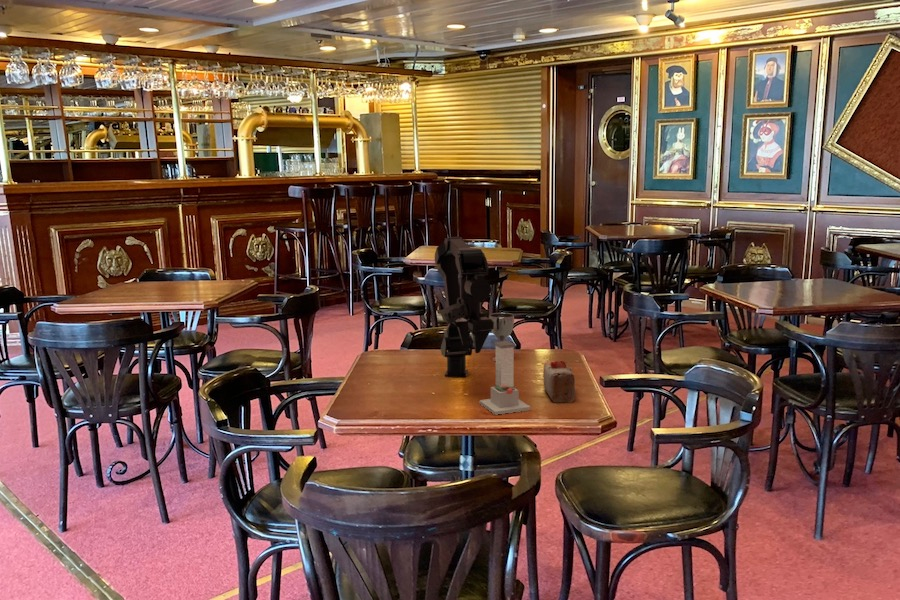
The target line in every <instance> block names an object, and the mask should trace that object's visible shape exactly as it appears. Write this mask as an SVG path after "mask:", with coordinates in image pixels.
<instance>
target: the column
mask: <svg viewBox="0 0 900 600" xmlns="http://www.w3.org/2000/svg"><path fill="white" fill-rule="evenodd" d="M494 346H495V357H496V362H495V384H494V387H496V389H497V390H499V391H500V392H505V391H507V390H508V389H509V388H513V390H514V388H515V386H514V375H515V373H514V366H515V365H514V364H515V363H514V358H515V357H514V355H515V354H514V351H515V346H516V345H515V343H513V342H511V341H510V340H505V341H503V342H499V341H495V342H494Z"/></svg>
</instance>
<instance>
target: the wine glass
mask: <svg viewBox="0 0 900 600" xmlns="http://www.w3.org/2000/svg"><path fill="white" fill-rule="evenodd" d="M489 318H490V319H491V320H492V321H493V322H494V329H492V331H491V333H492V334H493V336H494V337H495V338H496V339H497V340H498V342H503V341H507V339H508V337H509V336H510V335H511V334H512V332H513V330H514V324H515V315H514V314H513V313H511V312H510V313H509V312H494V313H490V314H489ZM492 358H493V360H495V361H496V356H495V358H494V357H492Z"/></svg>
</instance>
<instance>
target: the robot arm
mask: <svg viewBox="0 0 900 600" xmlns="http://www.w3.org/2000/svg"><path fill="white" fill-rule="evenodd" d="M463 239H464V238H463V237H460V236H448V237H445V238H444V241H443V242H442V243H441V244H440V245H438V246H437V247H436V249H435V253H434V263H435V265H436V269H437V272H438V273H439V275H441V277H442V278H443V284H444V295H445V296H444V297H445V304H446V307H445V308H442V309H441V310H440V311H439V313H440V315H441V318H442V320H443V322H444V323H446V324H447V326H446V329H445V331H444V334H443V338H442V342H441V345H440V352H441V355H442V356H443V357H444V358H446V372H445V373H444V377H448V378H449V377H451V378H453V377H454V378H466V377H467V375H468V372H469V370H468V369H467V366H466V365H467V363H466V361H467V360H466V358H467V357H466V356H472V354H473V345H474V351H475V354H479V353H481V351H482V348H483V347H484V344H485V342H486V340H487V339H488V336H489V335H490V333H492V329H494V322H493V321H492V320H491V319H490V317H487V316H484V312H482V303H484V301H485V300H486V299H488V298H489V296H490V295H491V294H492V293H491V292H492V287H491V284H490V283H489V281H488V280H487V279H485V276H489V271H490V268H489V264H488V259H487V256H486V254H485V253H484V252H483V250H482V249H481V248H479V247H470V245H469V244H467V243H466V242H465V241H464V240H463ZM459 276H460V278H459Z"/></svg>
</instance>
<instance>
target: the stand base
mask: <svg viewBox="0 0 900 600" xmlns="http://www.w3.org/2000/svg"><path fill="white" fill-rule="evenodd" d="M519 394H520V392H519V389H517V388H516V387H514V390H513V388H509V389H508V390H507V391H505V392H500V391H499V390H497V389H496V387H495V386H490V398H487V399H481V400H479V403H478V404H479V405H480V404H481V405H480V406H482V407H483V406H484V407H485V410H487V409H488V410H489V413H491V412H492V413H491V414H493V415H494V414H495V415H494V416H499V415H498V414H502V415H506V414H505V413H509V414H514V413H513V412H516V413H520V412H521V411H522V412H527V411H531V406H530V405H529V404H527V403H525V402H524V401H522V400H521V399H520V397H519V396H520V395H519ZM484 407H483V408H484ZM488 410H487V411H488Z"/></svg>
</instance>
